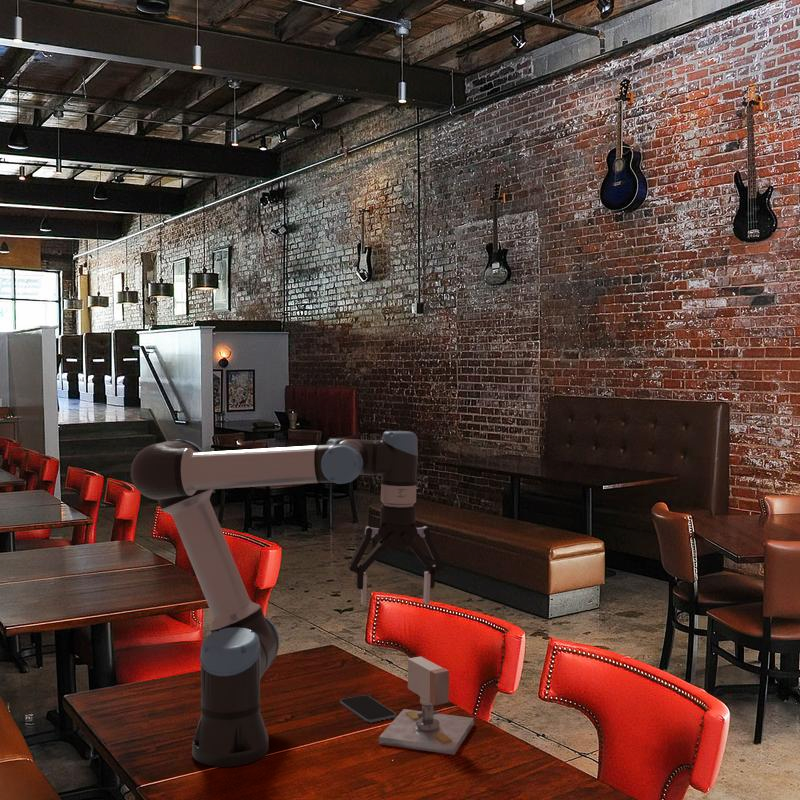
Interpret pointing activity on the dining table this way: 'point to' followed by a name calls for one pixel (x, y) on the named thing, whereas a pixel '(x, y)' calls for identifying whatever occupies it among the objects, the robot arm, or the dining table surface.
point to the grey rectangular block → (428, 681)
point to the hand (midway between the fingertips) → (395, 603)
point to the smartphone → (367, 708)
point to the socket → (427, 731)
